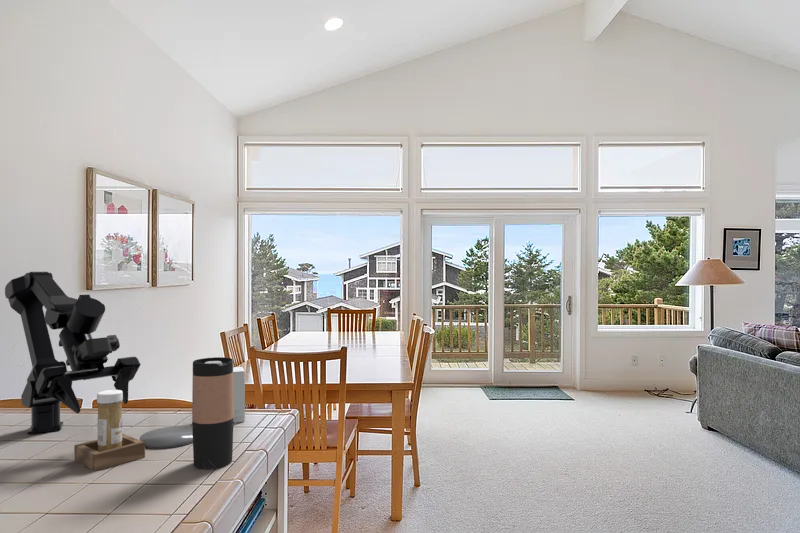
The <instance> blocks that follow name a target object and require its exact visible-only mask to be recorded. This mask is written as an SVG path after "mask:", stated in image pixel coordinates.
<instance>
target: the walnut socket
mask: <svg viewBox="0 0 800 533" xmlns="http://www.w3.org/2000/svg"><path fill="white" fill-rule="evenodd" d="M73 449H74V451H73V452H74V454H73V455H74V457H73V458H74V460H73V461H75V462H77V463H78V464H80V465H83V466H85V467H87V468H89V469H90V470H93V471H95V472H97V471H101V470H105V469H108V468H111V467H116V466H120V465H122V464H126V463H129V462H133V461H137V460H141V459H143V458H146V447H145V442H143V441H140V439H138V438H135V437H132V436H129V435H127V434H125V433H122V446H121V447H117V448H113V449H109V450H105V451H102V452H98V439H95V440H91V441H86V442H82V443H78V444H74V448H73Z"/></svg>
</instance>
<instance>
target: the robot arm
mask: <svg viewBox="0 0 800 533" xmlns="http://www.w3.org/2000/svg"><path fill="white" fill-rule="evenodd" d="M4 295H5V298H6V299H8V302H9V306H10V308H11V309H13V311H15V312H16V313H17V314H19V315H20V318H21V322H22V326H23V331H24V336H25V341H26V344H27V345H26V346H27V348H28V353H29V357H30V362H31V367H32V368H31V371H30V373H29V374H28V376H27V378H26V384H25V387H24V389H23V391H22V394H21V395H20V396H21V397H20V398H21V405H22V406H24V407H26V408H29V409H31V414H30V415H31V422H30V423H31V425H30V427H29V429H28V430H27V434H30V435H31V434H38V433H48V432H55V431H61V430H62V427H63V425H64V421H61V403H62V404H63V405H65V406H66V407H67V408H69V409H70V410H72V412H74V413H76V414H80V412H81V407H80V403H79V401H78V399H77V396H76V394H75V391H74V389H73V387H72V386H73V382H75V381H76V382H77V381H88V380H94V379H95V380H96V379H101V378H108V377H111V379H112V381H113V382H114V384H113V386H114V388H115V390H121V391H122V392H123V400H122V403H123V404H124V405H127V403H128V402H129V383H130V381H132V380H134V378H135V376H136V375H137V373H138V370H139V369H140V366H141V362H140V360H139V358H138V357H136V356H128V357H127V356H125V357H121V358H120V357H119V358H117V360H116V362H115V364H114V365H110V366H105V365H104V364H106V363H108V360H109V358H108V356H109V355H110V354H112V353H113V352H116V351H117V350H119V349H120V341H119V338H118V336H117V335H116V334H110V335H107V336H106V337H98V338H97V337H96V338H93V336H92V333H94V332H96V331H97V329H98V327H99V324H100V322H101V321H102V318H103V316H104V314H105V312H106V306H105V304H104V303H102V302H101V301H100V300H98V299H97V298H96V299H95V298H93V297H92V296H91V294H79V296H78V298H73V297H70V296H68V295H67V294H66V293H65V291H63V289H62V288H61V287H60V286H59V284H57V282H56V281H55V279H54V277H53V273H51V272H49V271H29V272H26V273H25V274H24V275H21V276H19V277H16V278H12V279H11V280H10V281H9V282H8V283H7V284H6V285H5V287H4ZM43 308H45V312H44V309H43ZM48 327H49V329H50V330H61V331H60V332H59V334H58V337H59V341H58V347H61V348H62V349H63V351H64V353H65V356H66V361H63V360H61V361H58V360H57V359H56V357H55V352H54V348H53V346H52V339H51V337H50V333H49V329H48ZM68 366H69V367H70V369H71V370H68Z"/></svg>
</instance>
